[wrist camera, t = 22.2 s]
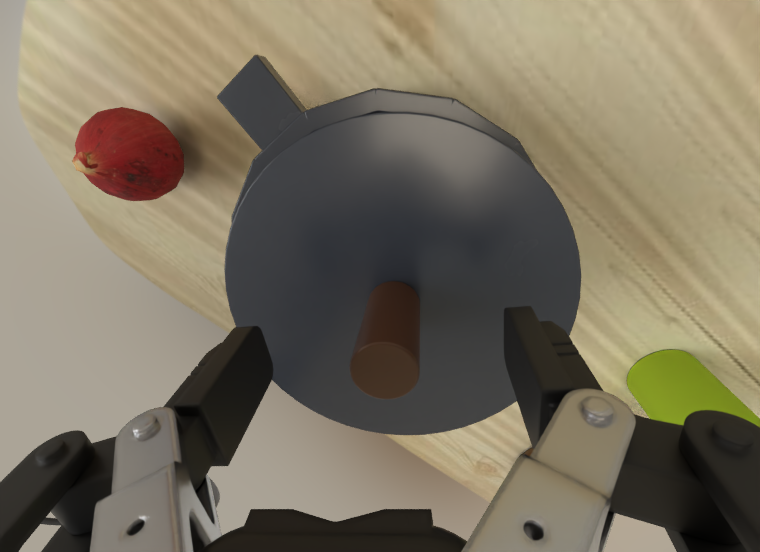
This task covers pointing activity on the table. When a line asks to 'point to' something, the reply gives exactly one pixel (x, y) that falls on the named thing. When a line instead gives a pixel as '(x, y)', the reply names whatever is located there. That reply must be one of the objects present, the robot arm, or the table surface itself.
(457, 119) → the pot
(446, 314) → the lid
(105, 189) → the onion
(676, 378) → the soap dispenser
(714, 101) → the table surface
